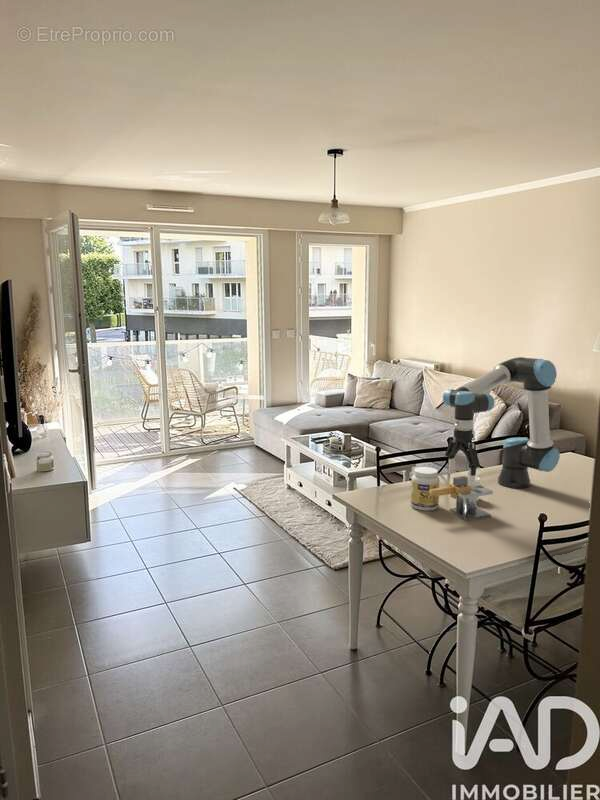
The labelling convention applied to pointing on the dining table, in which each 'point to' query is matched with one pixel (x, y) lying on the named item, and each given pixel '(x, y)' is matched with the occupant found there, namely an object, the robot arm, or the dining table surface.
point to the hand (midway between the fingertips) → (461, 477)
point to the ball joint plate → (473, 502)
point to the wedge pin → (459, 501)
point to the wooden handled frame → (449, 490)
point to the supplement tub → (424, 488)
